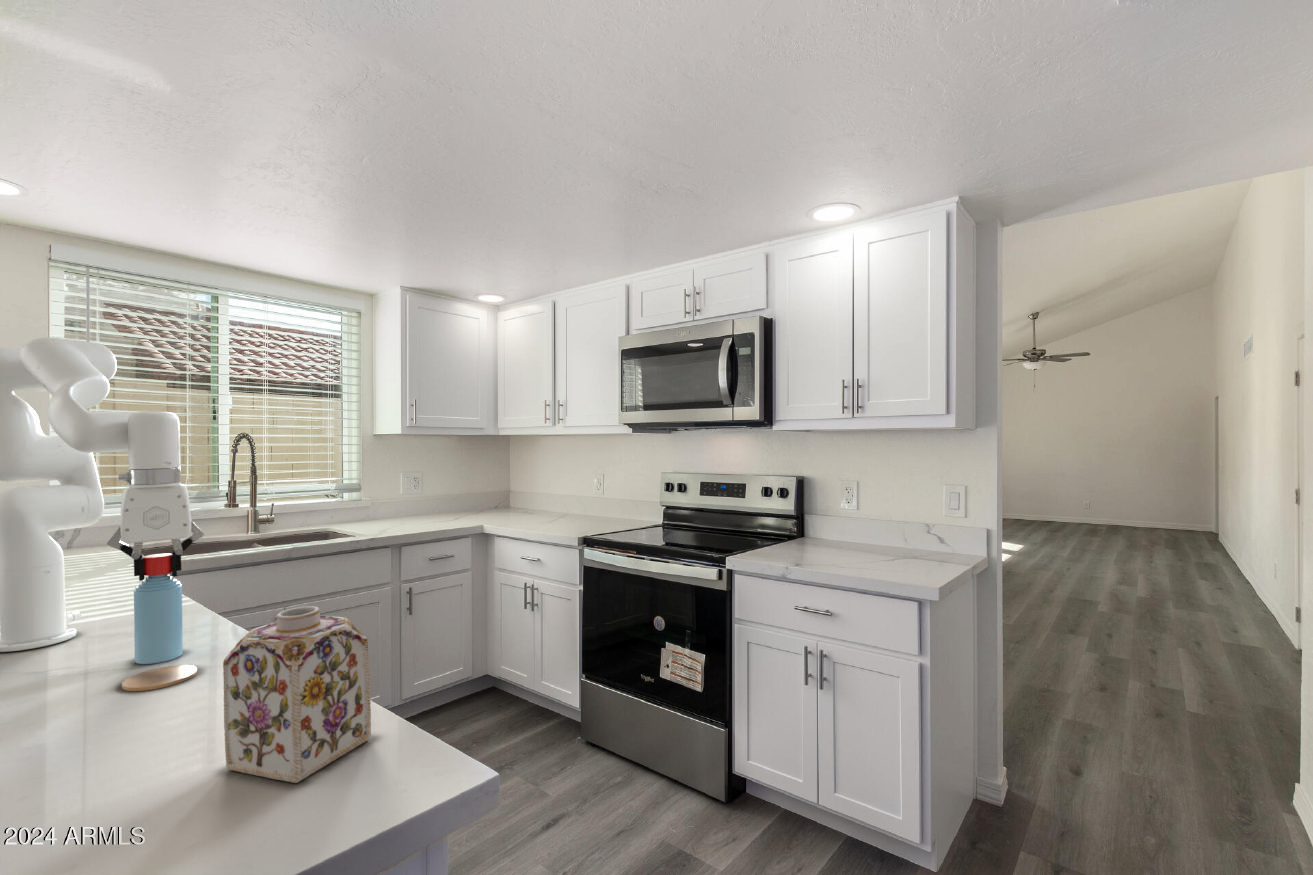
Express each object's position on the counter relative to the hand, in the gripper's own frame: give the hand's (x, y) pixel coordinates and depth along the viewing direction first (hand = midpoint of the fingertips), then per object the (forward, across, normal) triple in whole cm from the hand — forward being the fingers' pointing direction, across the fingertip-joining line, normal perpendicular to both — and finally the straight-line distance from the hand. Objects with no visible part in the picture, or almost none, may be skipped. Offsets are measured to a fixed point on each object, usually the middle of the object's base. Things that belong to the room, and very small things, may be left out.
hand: (158, 576), depth 118 cm
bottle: (+15, 0, 0) cm, 15 cm away
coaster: (+15, 0, -14) cm, 21 cm away
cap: (-1, 0, 0) cm, 1 cm away
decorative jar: (+15, +14, -59) cm, 63 cm away
